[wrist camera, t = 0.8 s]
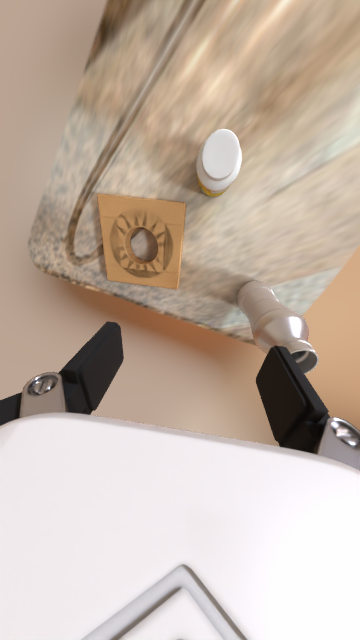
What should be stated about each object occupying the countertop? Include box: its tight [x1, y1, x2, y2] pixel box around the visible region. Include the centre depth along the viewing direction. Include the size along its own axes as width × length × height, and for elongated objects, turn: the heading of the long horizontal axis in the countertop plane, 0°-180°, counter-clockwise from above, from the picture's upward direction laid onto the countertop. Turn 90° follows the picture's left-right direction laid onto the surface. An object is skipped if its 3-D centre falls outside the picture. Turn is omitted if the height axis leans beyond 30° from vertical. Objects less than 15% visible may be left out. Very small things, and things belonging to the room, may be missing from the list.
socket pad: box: [97, 194, 186, 289], centre depth 31 cm, size 14×14×3 cm
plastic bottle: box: [237, 281, 319, 374], centre depth 26 cm, size 6×7×20 cm
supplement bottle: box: [196, 129, 241, 197], centre depth 22 cm, size 5×5×10 cm
